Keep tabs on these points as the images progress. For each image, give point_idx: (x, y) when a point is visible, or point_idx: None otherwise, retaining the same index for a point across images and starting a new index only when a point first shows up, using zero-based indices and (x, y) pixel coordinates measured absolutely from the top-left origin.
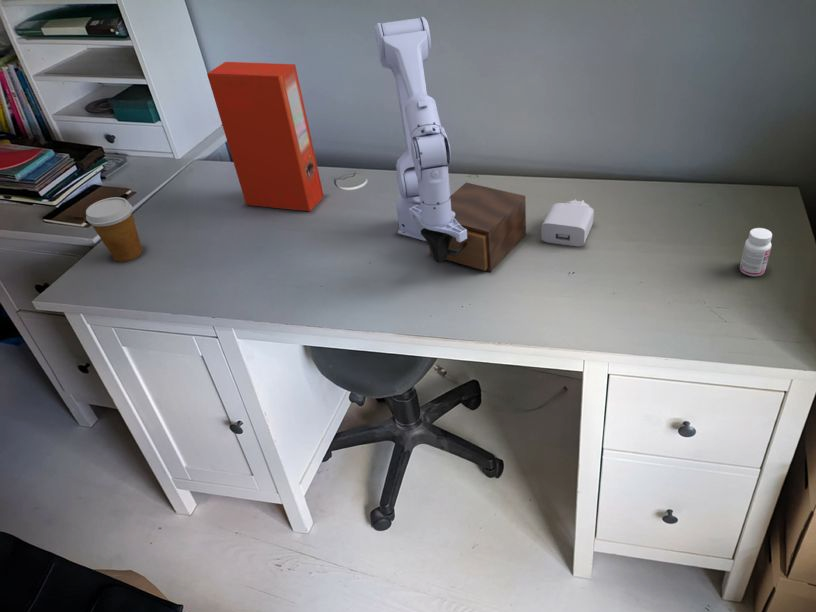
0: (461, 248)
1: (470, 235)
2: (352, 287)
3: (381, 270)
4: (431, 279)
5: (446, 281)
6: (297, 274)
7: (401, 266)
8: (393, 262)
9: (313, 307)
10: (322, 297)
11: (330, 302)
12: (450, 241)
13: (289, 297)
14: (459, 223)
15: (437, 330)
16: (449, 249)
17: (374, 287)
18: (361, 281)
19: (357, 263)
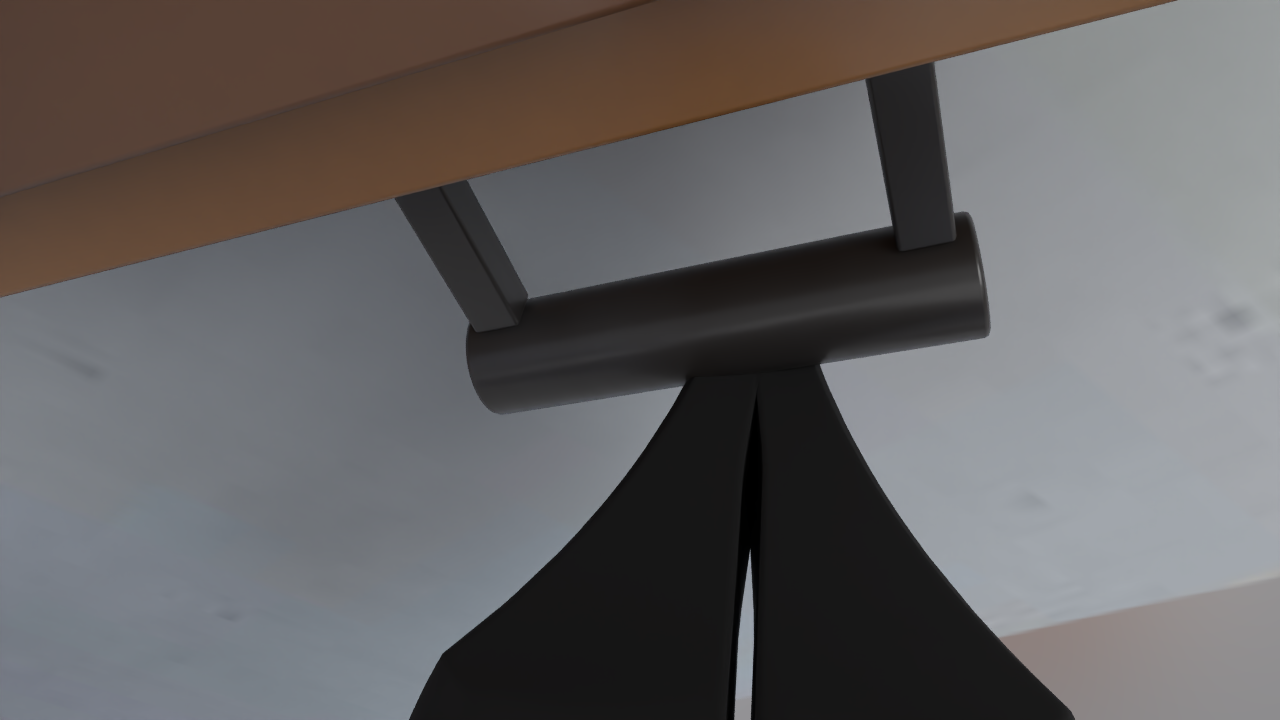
0: (943, 154)
1: (1116, 8)
2: (339, 558)
3: (236, 378)
4: (645, 222)
5: (798, 152)
6: (45, 616)
7: (262, 258)
8: (159, 262)
9: (400, 698)
10: (340, 654)
11: (410, 658)
12: (907, 533)
13: (250, 701)
14: (495, 12)
15: (1185, 560)
16: (819, 353)
17: (425, 504)
18: (304, 507)
19: (51, 417)
